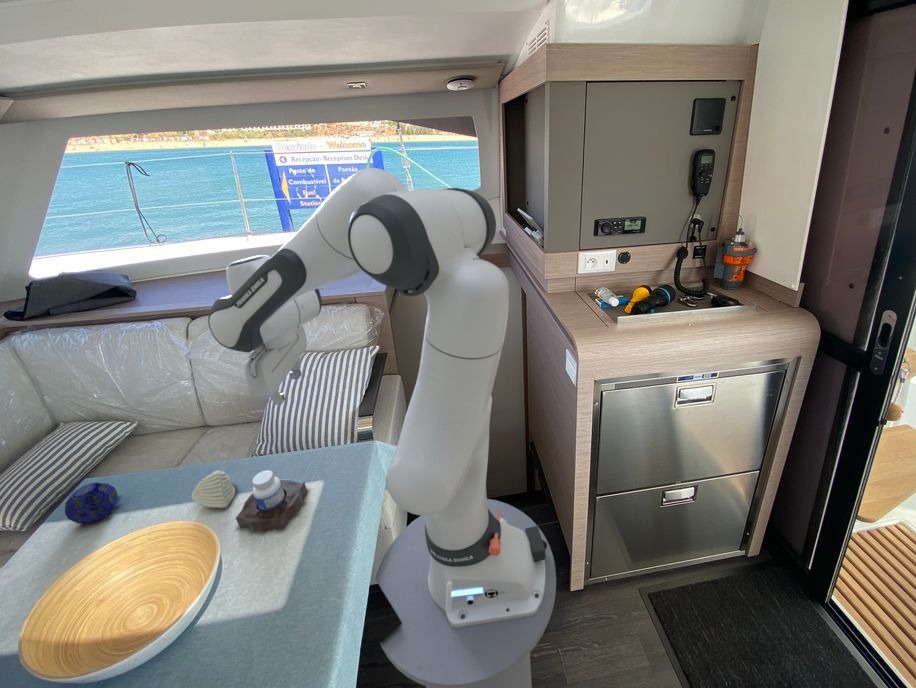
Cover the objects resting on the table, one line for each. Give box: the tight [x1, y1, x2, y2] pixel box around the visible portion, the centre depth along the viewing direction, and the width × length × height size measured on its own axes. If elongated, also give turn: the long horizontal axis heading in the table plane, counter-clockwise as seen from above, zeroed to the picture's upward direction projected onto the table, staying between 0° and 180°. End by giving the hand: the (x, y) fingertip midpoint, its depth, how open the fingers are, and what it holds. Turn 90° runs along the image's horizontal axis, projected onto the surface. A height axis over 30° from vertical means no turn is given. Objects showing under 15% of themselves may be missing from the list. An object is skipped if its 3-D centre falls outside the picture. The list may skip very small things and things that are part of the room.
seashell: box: [191, 469, 236, 509], centre depth 97 cm, size 8×8×8 cm
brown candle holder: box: [235, 478, 308, 532], centre depth 93 cm, size 11×11×3 cm
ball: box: [64, 482, 119, 524], centre depth 94 cm, size 8×8×8 cm
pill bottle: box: [252, 469, 286, 511], centre depth 92 cm, size 6×5×10 cm
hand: (288, 389), depth 90 cm, fingers open, 8 cm apart
